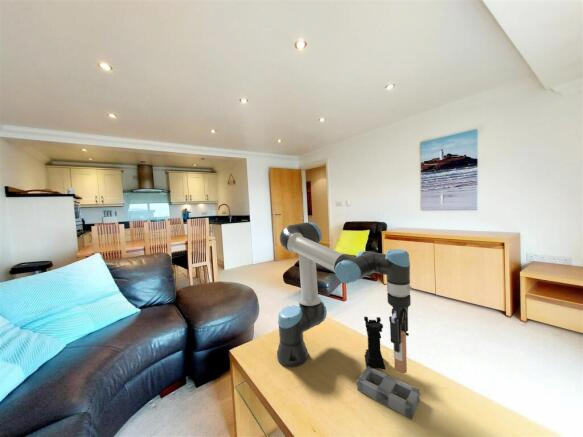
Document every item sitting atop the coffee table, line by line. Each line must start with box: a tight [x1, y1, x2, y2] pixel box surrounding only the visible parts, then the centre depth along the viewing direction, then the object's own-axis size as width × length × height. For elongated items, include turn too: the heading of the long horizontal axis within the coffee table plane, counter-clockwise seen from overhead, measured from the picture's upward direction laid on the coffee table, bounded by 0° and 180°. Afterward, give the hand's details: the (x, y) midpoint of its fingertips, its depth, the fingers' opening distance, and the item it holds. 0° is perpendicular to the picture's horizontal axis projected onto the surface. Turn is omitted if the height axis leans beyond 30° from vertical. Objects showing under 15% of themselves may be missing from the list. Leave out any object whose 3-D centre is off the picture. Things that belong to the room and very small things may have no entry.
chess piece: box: [363, 316, 386, 370], centre depth 107 cm, size 8×8×20 cm
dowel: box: [393, 330, 408, 374], centre depth 85 cm, size 4×4×14 cm
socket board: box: [356, 366, 421, 420], centre depth 90 cm, size 20×10×4 cm, turn 48°
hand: (400, 355), depth 85 cm, fingers closed on dowel, 4 cm apart
